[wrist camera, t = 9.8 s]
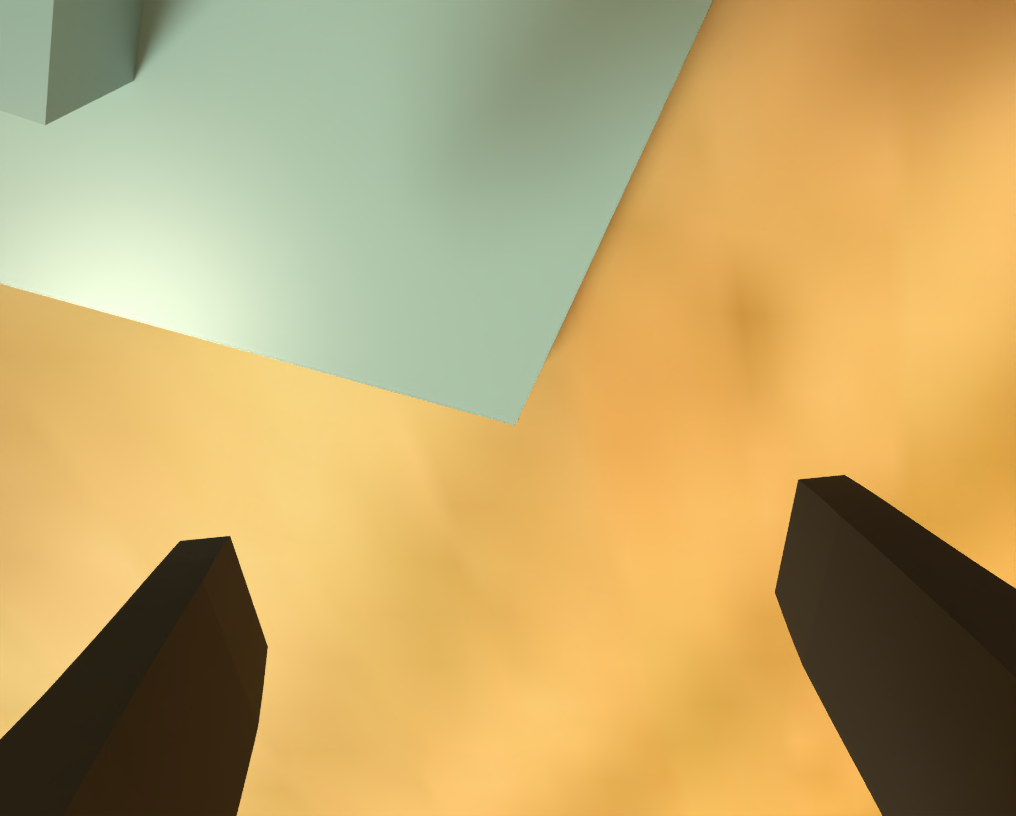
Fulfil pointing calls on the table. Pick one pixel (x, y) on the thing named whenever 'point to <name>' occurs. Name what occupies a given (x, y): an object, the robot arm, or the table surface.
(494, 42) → the lid
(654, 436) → the table surface
